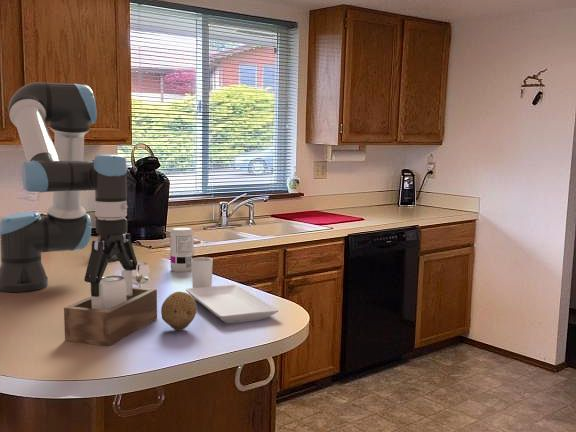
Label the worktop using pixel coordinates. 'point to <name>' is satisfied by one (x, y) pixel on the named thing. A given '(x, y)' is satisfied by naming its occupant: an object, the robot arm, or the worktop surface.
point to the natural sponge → (178, 310)
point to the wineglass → (141, 274)
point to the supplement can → (181, 249)
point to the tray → (232, 303)
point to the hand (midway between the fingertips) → (113, 301)
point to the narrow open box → (110, 318)
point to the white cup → (202, 272)
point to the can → (113, 291)
